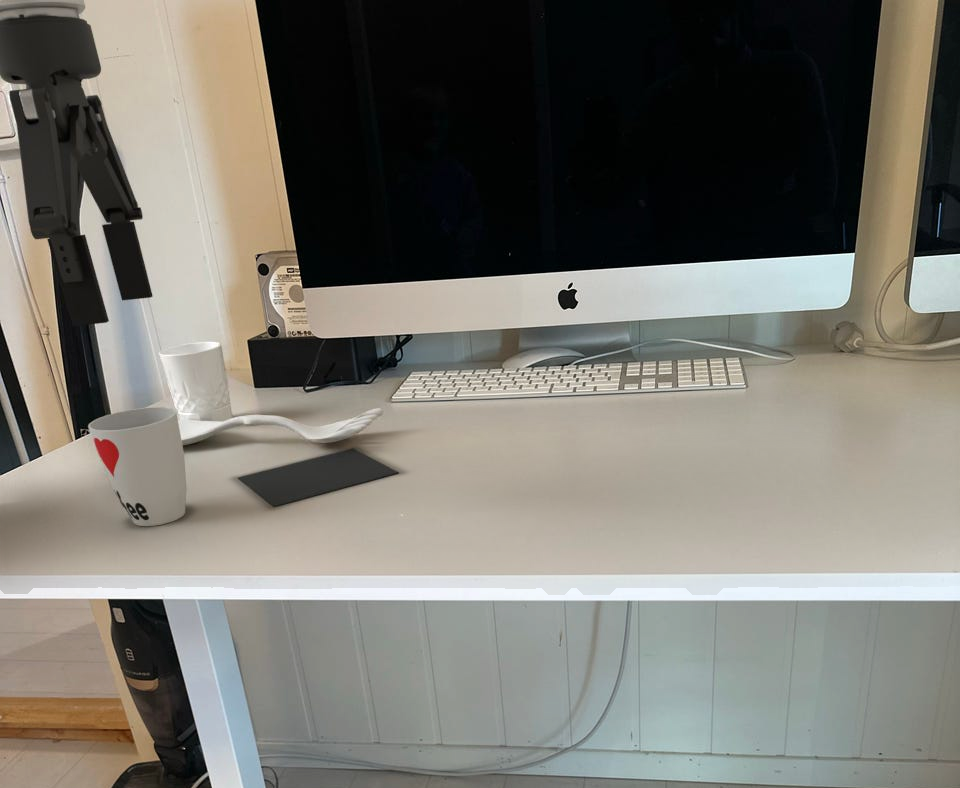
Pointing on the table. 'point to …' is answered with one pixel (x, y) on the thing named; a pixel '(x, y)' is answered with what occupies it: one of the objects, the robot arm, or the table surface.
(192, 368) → the white cup
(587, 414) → the table surface
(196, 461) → the table surface
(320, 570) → the table surface
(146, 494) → the cup
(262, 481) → the mat
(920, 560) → the table surface
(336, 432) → the spoon
